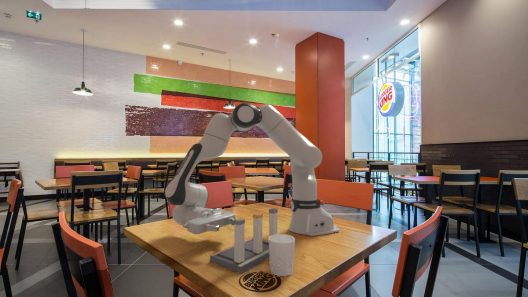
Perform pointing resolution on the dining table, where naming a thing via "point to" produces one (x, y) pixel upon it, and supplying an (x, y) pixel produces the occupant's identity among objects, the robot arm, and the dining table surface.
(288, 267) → the white cup
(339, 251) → the dining table surface
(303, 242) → the dining table surface
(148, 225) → the dining table surface
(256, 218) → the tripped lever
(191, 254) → the dining table surface
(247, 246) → the peg rod stand
